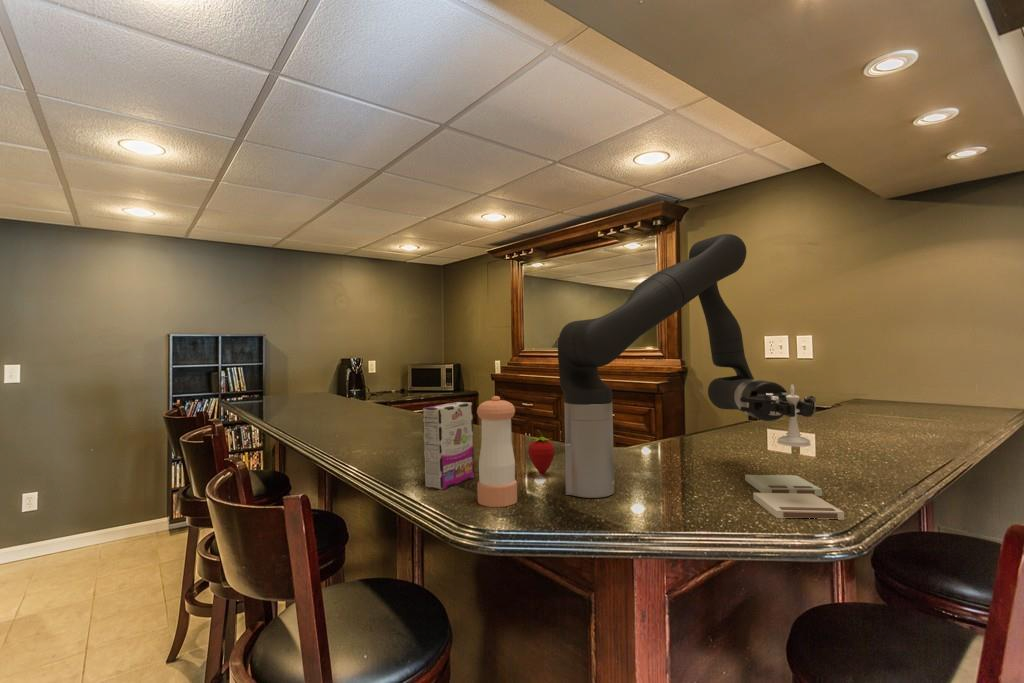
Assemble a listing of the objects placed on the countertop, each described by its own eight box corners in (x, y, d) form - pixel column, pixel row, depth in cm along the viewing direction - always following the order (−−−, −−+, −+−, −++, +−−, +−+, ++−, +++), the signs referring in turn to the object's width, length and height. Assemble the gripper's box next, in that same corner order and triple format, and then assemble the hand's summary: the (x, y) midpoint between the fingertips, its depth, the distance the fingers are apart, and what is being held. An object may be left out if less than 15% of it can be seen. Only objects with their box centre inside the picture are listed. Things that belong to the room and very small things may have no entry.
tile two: (764, 494, 90) (764, 487, 90) (745, 480, 100) (745, 474, 100) (822, 496, 89) (822, 488, 89) (796, 481, 99) (796, 474, 99)
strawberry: (528, 479, 103) (527, 432, 104) (528, 471, 111) (527, 427, 111) (556, 479, 103) (555, 432, 103) (554, 471, 111) (553, 427, 111)
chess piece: (806, 441, 84) (805, 383, 84) (814, 447, 79) (812, 386, 79) (774, 440, 85) (773, 383, 86) (780, 446, 81) (778, 385, 81)
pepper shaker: (477, 495, 92) (475, 394, 93) (515, 494, 93) (513, 394, 93) (478, 508, 85) (476, 398, 86) (519, 506, 86) (517, 397, 86)
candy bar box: (456, 475, 108) (455, 401, 109) (474, 477, 106) (473, 402, 106) (422, 487, 99) (421, 406, 99) (441, 490, 96) (440, 407, 97)
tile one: (777, 518, 77) (776, 509, 77) (753, 499, 87) (753, 491, 87) (844, 520, 76) (844, 511, 76) (812, 500, 86) (812, 492, 86)
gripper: (723, 380, 97) (756, 387, 80) (796, 379, 96) (846, 387, 79) (724, 418, 97) (757, 433, 80) (797, 417, 96) (847, 433, 78)
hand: (801, 410), depth 79 cm, fingers closed on chess piece
